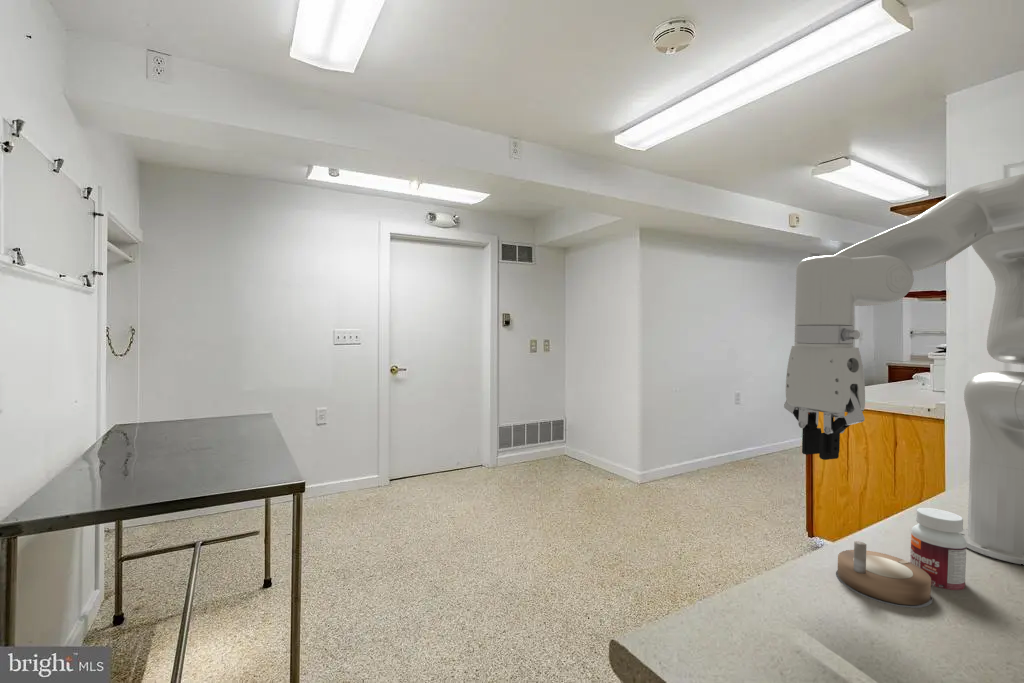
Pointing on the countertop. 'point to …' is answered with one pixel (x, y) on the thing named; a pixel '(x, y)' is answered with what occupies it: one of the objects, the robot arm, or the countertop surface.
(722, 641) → the countertop surface
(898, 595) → the turntable
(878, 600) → the base
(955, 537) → the pill bottle
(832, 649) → the countertop surface
